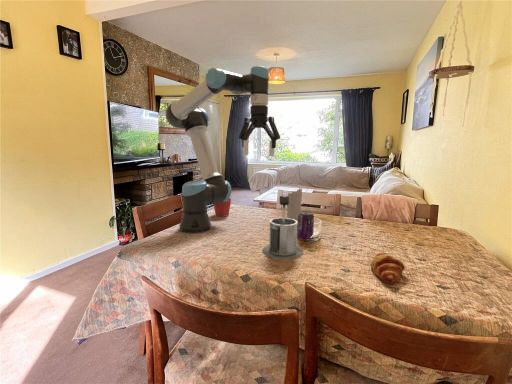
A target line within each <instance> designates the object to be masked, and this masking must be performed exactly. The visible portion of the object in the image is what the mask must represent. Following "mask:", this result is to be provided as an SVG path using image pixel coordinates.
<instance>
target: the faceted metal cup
mask: <svg viewBox="0 0 512 384" xmlns="http://www.w3.org/2000/svg"><path fill="white" fill-rule="evenodd" d="M297 224H298V223H297V221H296V220H294V219H290V218H287V217H285V225H282V217H276V218H275V217H274V218H272V219H270V220H269V252H270V253H271V254H273V255H275V256H281V257H288V256H293V255H295V254H296V253H297V249H296V248H297V247H298V244H297V243H298V241H297V240H298V237H297V228H298V227H297Z"/></svg>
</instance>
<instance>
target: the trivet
mask: <svg viewBox="0 0 512 384" xmlns="http://www.w3.org/2000/svg"><path fill="white" fill-rule="evenodd" d="M296 249H297V253H296V254H295V255H293V256H288V257H281V256H275V255H273V254H271V253H270V252H269V245H266V246H263V248H262V250H261V251H262V254H263V255H264V256H266V257H268V258H271V259H274V260H280V261H281V260H282V261H283V260H284V261H286V260H287V261H288V260H290V261H291V260H295V259H299V258H300V257H302V256H303V255H304V251H303V250H304V249H301V248H300V247H298V246H297V248H296Z"/></svg>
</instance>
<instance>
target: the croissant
mask: <svg viewBox="0 0 512 384" xmlns="http://www.w3.org/2000/svg"><path fill="white" fill-rule="evenodd" d="M405 267H406V266H405V264H404V263H403V261H402V260H401V259H399V258H397V257H395V256H393V255H390V254H387V253H385V252H382V253H381V252H379V253H377V254H375V256H374V257H373V258H372V260H371V261H370V268H372V271H373V274H375V275H376V276H377V277H378V278H380V279H381V280H382V282H385V283H387V284H393V283H396V282H398V281H399V279H400V278H401V277H402V274H403V272H404V271H405Z"/></svg>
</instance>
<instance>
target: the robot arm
mask: <svg viewBox="0 0 512 384" xmlns="http://www.w3.org/2000/svg"><path fill="white" fill-rule="evenodd" d="M269 76H270V75H269V69H268V68H267V67H266V66H262V65H256V66H252V67H251V68H250V73H248V74H240V73H239V74H238V73H236V72H231V71H228V70H225V69H222V68H217V67H215V68H214V67H211V68H209V69H208V70H207V72H206V74H205V79H204V80H203V81H202V82H200V83H199V84H197V85H196V86H195V87H194V88H193V89H191V90H190V91H188V92H187V93H186V94H185V95H184V96H182V97H181V98H180V99H178V100H174V101H172V102H170V104H169V105H168V106H167V107H166V110H165V120H167V123H168V124H169V125H170V126H172V127H173V128H175V129H183V130H184V131H185V135H187V136H188V137H189V138H190V141H191V144H192V147H193V150H194V153H195V157H196V161H197V163H198V166H199V170H200V173H201V176H202V179H197V180H190V181H187V182H185V183H184V184H183V185H182V186H181V187H182V189H181V196H182V215H181V221H180V223H179V232H182V233H187V234H199V233H205V232H208V231H210V230H211V229H212V223H211V221H210V218H209V215H208V207H209V206H212V205H213V206H214V204H218V203H219V204H220V203H223V202H226V201H227V200H228V199H229V198H231V195H232V185H231V184H230V182H229V181H228V180H226V179H225V178H224V176H223V174H221V173H219V170H218V167H217V163H216V161H215V158H214V154H213V151H212V148H211V145H210V142H209V139H208V135H207V131H208V127H209V123H210V118H209V114H208V113H207V111H206V110H205V109H203V108H202V107H201V106H203V105H204V104H205V103H207V102H208V101H209V100H211V99H212V98H214V97H215V96H217V95H218V94H220V93H221V92H223V91H228V92H230V93H232V94H233V95H243V94H249V93H250V110H249V111H250V113H249V114H250V117H244V123H243V125H242V126H241V127H242V128H241V130H240V132H239V135H238V139H240V140H241V143H242V148H243V156H249V140H248V139H249V137H250V136H251V135H252V133H253V132H254V130H255V129H264V131H265V133H266V135H268V137H269V138H270V140H269V146H268V149H269V150H268V151H269V153H268V154H269V157H274V156H275V149H276V147H277V140H280V139H281V136H280V133H279V131H278V128H277V125H276V123H275V117H274V116H270V115H269V116H268V114H269V112H268V111H269V107H268V105H269V82H270V81H269V80H270V79H269ZM267 123H269V125H268V124H267Z"/></svg>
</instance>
